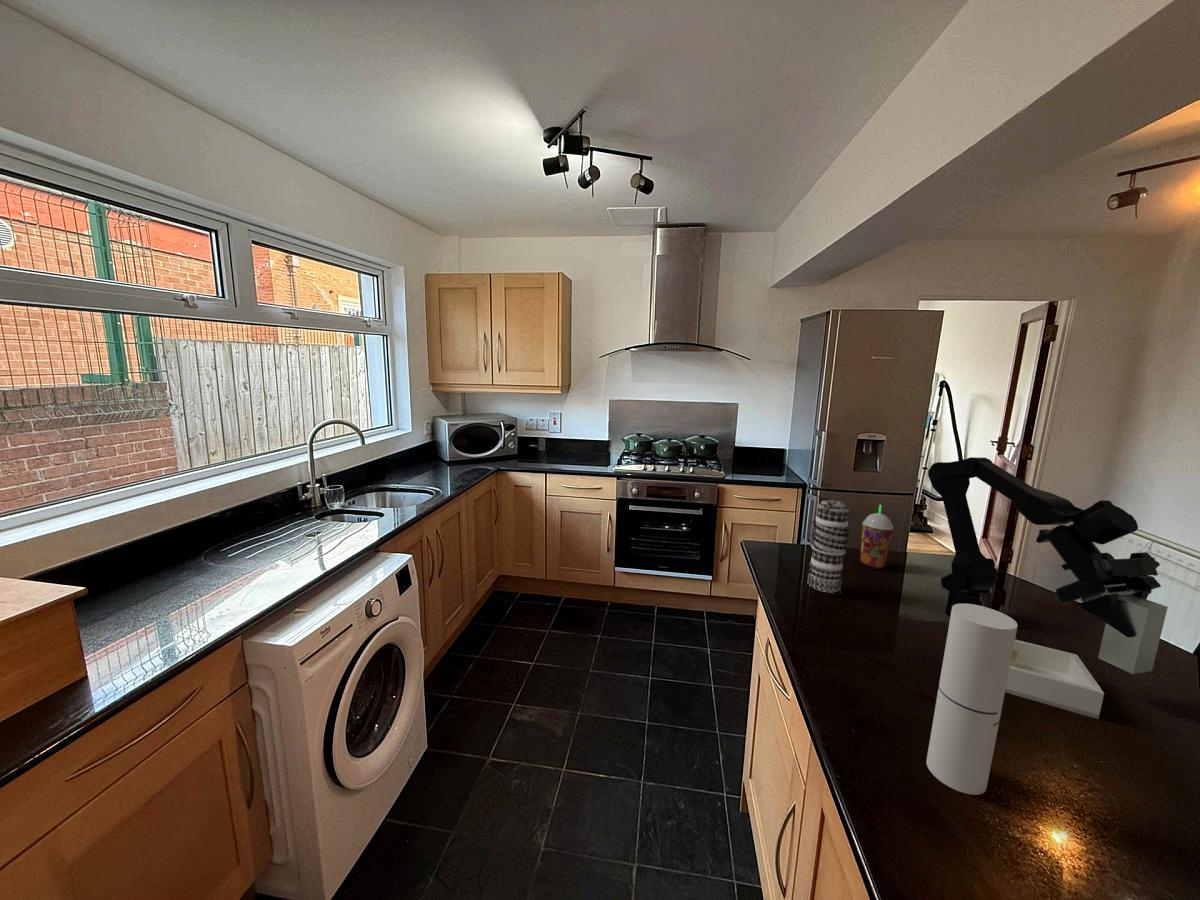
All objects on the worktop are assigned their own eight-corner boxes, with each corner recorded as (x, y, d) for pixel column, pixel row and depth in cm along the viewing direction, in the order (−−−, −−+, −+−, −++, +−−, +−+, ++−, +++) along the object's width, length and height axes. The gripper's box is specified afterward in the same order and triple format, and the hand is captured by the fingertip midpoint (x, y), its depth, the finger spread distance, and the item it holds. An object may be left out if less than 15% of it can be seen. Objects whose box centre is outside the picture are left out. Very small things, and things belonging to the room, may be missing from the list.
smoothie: (884, 564, 151) (892, 503, 148) (890, 574, 143) (899, 510, 140) (854, 559, 154) (862, 500, 150) (859, 569, 146) (868, 506, 143)
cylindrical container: (915, 755, 73) (939, 603, 69) (957, 753, 74) (984, 603, 70) (952, 795, 66) (982, 629, 62) (1000, 793, 66) (1032, 629, 63)
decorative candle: (809, 595, 127) (819, 504, 123) (802, 580, 136) (811, 496, 132) (846, 599, 125) (857, 508, 121) (836, 585, 134) (847, 499, 130)
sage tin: (1132, 674, 85) (1148, 609, 83) (1097, 657, 89) (1111, 596, 87) (1151, 671, 86) (1167, 606, 84) (1116, 655, 91) (1130, 594, 89)
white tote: (969, 681, 92) (973, 658, 91) (960, 648, 104) (963, 626, 103) (1098, 719, 83) (1104, 693, 82) (1072, 677, 94) (1076, 654, 94)
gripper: (1087, 539, 85) (1157, 627, 77) (1157, 534, 90) (1231, 617, 81) (1031, 563, 94) (1087, 645, 85) (1097, 557, 99) (1157, 635, 90)
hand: (1142, 635), depth 85 cm, fingers closed on sage tin, 5 cm apart
